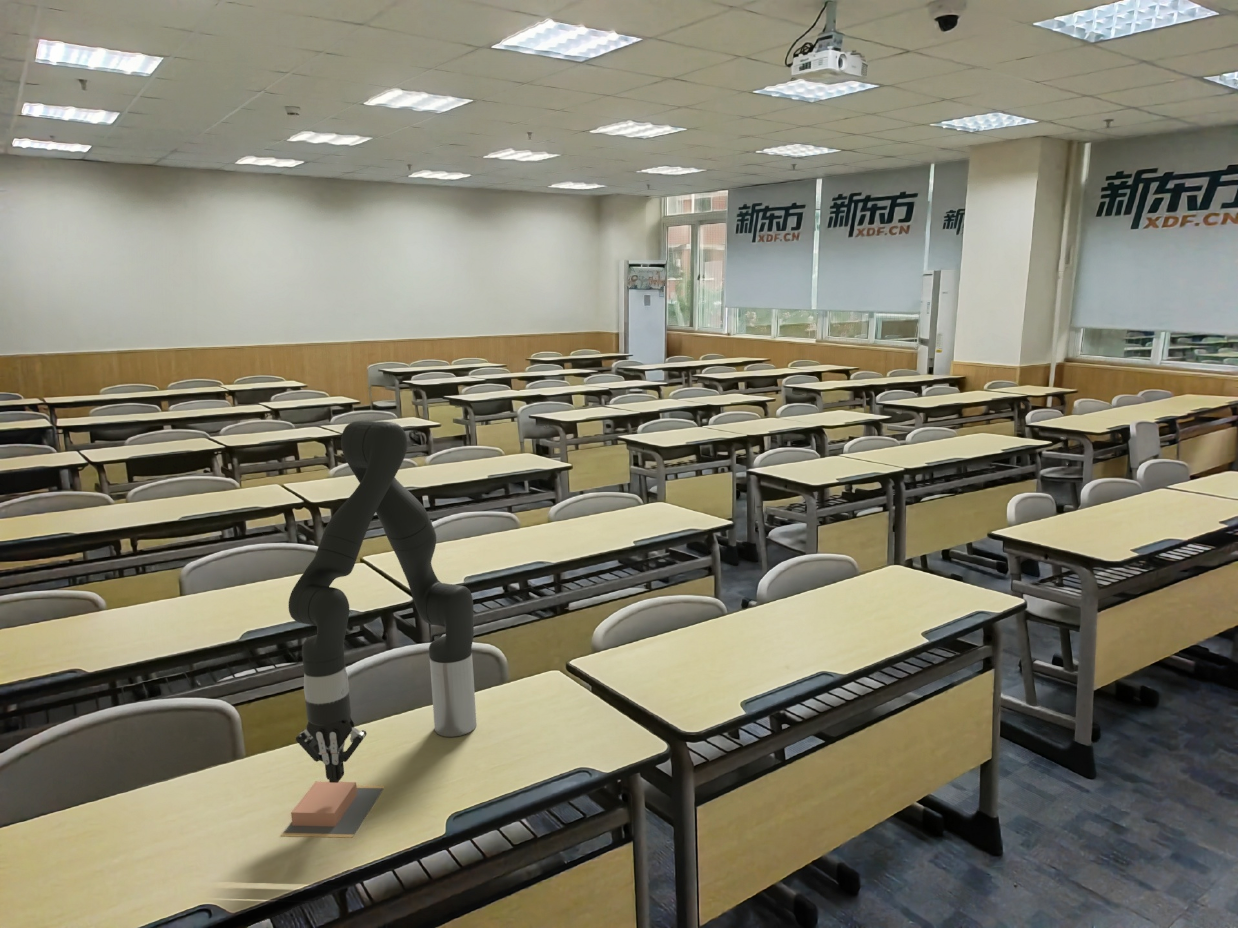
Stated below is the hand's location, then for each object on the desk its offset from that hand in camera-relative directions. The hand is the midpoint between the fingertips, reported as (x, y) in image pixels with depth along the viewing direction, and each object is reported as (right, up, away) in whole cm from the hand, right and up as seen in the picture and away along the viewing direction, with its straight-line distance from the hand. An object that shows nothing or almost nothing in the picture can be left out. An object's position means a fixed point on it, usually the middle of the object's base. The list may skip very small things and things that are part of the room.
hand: (335, 780), depth 150 cm
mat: (0, -7, +1) cm, 7 cm away
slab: (+2, -5, +1) cm, 5 cm away
